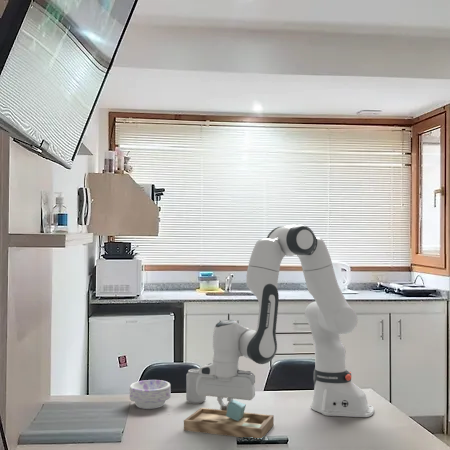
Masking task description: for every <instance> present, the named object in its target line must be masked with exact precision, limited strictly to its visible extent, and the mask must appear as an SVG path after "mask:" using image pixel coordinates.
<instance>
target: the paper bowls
mask: <svg viewBox="0 0 450 450" xmlns="http://www.w3.org/2000/svg"><path fill="white" fill-rule="evenodd" d="M171 390H172V389H171V383H170V382H168V381H166V380H162V379H161V380H160V379H148V380H147V379H145V380H138V381H135V382H132V383H131V384H130V385H129V400H130V401H132V402H134V404H135V406H136V407H137V408H139V409H144V410H154V409H159V408H161V407H163V406H164V405H165V403H166V401H168V400H169V399H171V396H172V395H171V394H172V393H171V392H172V391H171Z"/></svg>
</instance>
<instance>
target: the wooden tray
mask: <svg viewBox="0 0 450 450" xmlns="http://www.w3.org/2000/svg"><path fill="white" fill-rule="evenodd" d="M226 414H227V411H221V410H220V409H216V408H207V407H200V408H198V410H196V411H194V412H193V413H192V414H190V415H189V416H188V417H186V418H185V419H183V430H184V431H186V432H188V431H189V432H193V433H194V432H195V433H203V434H212V435H219V436H226V437H228V436H229V437H237V438H243V437H253V438H262V437H263V436H264V437H265V436H266V435H267V434H268V432H269V431H270V430H271V429H272V428H273V427H274V426H275V425H274V421H275V419H274V417H275V416H274V415H273V414H263V413H255V412H254V413H253V412H245V411H244V414H243V417H242V418H241V419H240V420H239V421H236V420H234V419H232V418H229V417H227V416H226ZM264 437H263V438H264Z"/></svg>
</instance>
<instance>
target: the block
mask: <svg viewBox="0 0 450 450" xmlns="http://www.w3.org/2000/svg"><path fill="white" fill-rule="evenodd" d="M246 405H247V404H245V403H243V402H241V401H238V400H237V399H233V401H232V402H230V403H229V406H228V410H227V414H226V416H227V417H229V418H232V419H234V420H236V421H239V420H240V419H241V418H242V417H243V414H244V412H245V410H246Z"/></svg>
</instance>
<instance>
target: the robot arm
mask: <svg viewBox="0 0 450 450" xmlns="http://www.w3.org/2000/svg"><path fill="white" fill-rule="evenodd" d="M285 256H286V257H292V256H297V258H298V259H299V261H300V263H301V264H300V265H301V270H302V273H303V278H304V281H305V284H306V289H307V291H308V293H309V294H310V295H311V296H312V298H313V299H314V300H315V301H312V302H310V303H309V304H308V305H307V306H306V307H305V310H304V318H305V321H306V322H307V324H308V326H309V328H310V331H311V336H312V341H313V346H314V365H315V367H314V369H313V384H314V387H313V388H314V389H313V396H312V402H311V405H310V408H311V410H313V411H315V412H318V413H320V414H322V415H323V416H329V417H330V416H332V417H350V418H352V417H354V418H369V417H371V416H372V415H374V413H375V409H374V406H373V405H372V404H369V403H368V398H367V394H366V392H365V391H364V390H363V389H362V388H360V387H359V386H358V385H357V384H355V383H354V382H353V381H352V372H351V371H349V370H347V369H346V368H347V367H346V366H347V365H346V364H347V363H346V358H347V356H346V354H347V353H346V348H345V346H344V344H343V343H342V340H341V337H340V335H347V334H350V333H352V332H353V331H354V330H355V329H356V327H357V324H358V320H359V319H358V314H357V312H356V311H355V310H354V308H352V307H351V305H350V304H349V303H348V301H347V299H346V298H345V296H344V294H343V292H342V290H341V288H340V286H339V283H338V281H337V277H336V272H335V269H334V266H333V262H332V258H331V255H330V252H329V250H328V248H327V245H326V243H325V241H324V240H323V238H320V237H317V236H316V235H315V233H314V230H312V228H310V227H308V226H306V225H304V224H287V225H284V226H283V225H282V226H278V227H275V228H273V229H272V230H270V231H269V233H268V235H267V237H266V238H265V237H264V238H259V239H258V240H257V241H256V243H254V246H253V249H252V252H251V254H250V257H249V262H248V265H247V270H246V279H245V280H246V285H247V288H248V289H249V291H250V292H251V293H252V294H253V295H254V296H255V297H256V299H257V301H258V305H259V309H258V319H257V327H256V330H255V329H251V328H249V327H247V326H246V327H245V326H244V325H242V324H241V323H239V322H238V321H236V320H234V319H225V320H224V319H223V320H221V321H219V322H217V323H216V324H215V326H214V329H213V335H212V350H213V357H212V362H210V363H206V364H205V365H202V366H201V367H199V368H198V369H199V374H200V375H199V376H198V377H197V382H196V392H197V394H198V395H204V396H206V397H215V398H217V399H216V400H217V403H218V404H219V406H220V407H219V408H220V409H219V410H221V411H227V410H228V406H229V403H230V402H232V401H233V400H243V401H252V400H253V399H254V398H255V397H256V388H255V387H256V385H255V384H256V375H255V374H254V373H253V372H251V371H249V370H246V371H245V370H241V369H240V368H239V365H240V361H239V360H240V357H244V358H246V359H248V360H251V361H253V362H254V363H256V364H259V365H264V364H267V363H269V362H271V361H272V360H273V359H274V357H276V353H277V351H278V342H277V336H276V335H277V334H276V333H277V321H278V320H277V319H278V310H279V298H280V296H279V289H278V285H279V284H278V282H279V275H280V269H281V263H282V260H284V258H285ZM224 399H226V402H228V403H227V404H224V402H223V400H224Z"/></svg>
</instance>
